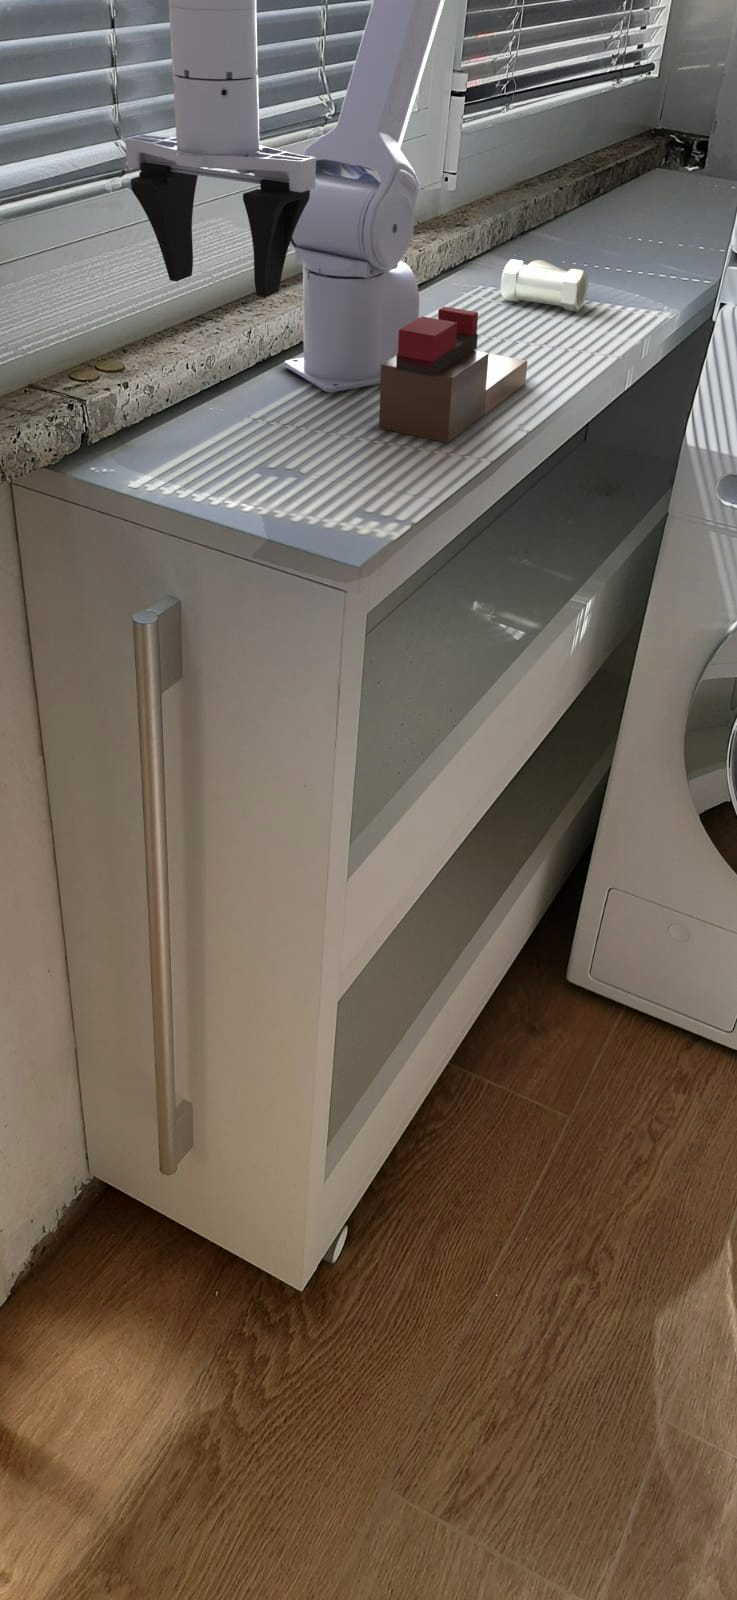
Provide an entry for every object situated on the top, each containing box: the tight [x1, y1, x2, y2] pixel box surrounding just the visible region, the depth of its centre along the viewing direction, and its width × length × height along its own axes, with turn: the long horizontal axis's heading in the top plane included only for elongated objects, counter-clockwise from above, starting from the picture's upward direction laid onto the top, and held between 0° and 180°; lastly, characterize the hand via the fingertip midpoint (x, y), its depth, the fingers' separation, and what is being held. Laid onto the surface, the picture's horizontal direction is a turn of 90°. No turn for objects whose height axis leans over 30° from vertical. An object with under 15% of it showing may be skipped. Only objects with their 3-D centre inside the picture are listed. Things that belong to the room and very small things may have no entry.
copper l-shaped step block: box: [378, 350, 528, 444], centre depth 102 cm, size 16×6×5 cm, turn 152°
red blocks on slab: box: [396, 306, 479, 377], centre depth 97 cm, size 8×3×3 cm, turn 152°
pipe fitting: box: [500, 258, 589, 313], centre depth 128 cm, size 8×4×7 cm
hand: (223, 285), depth 93 cm, fingers open, 7 cm apart
